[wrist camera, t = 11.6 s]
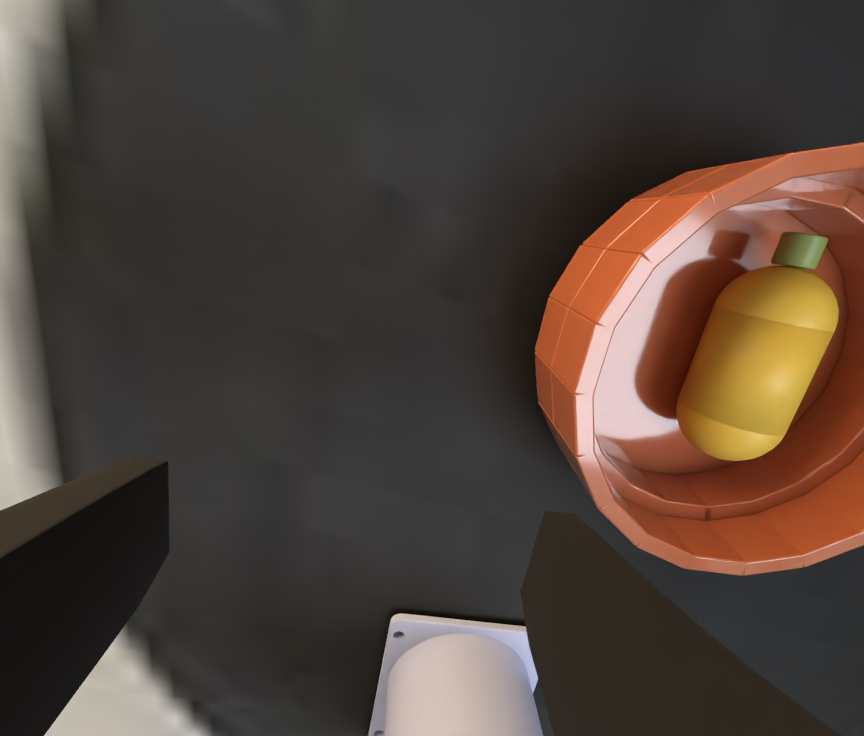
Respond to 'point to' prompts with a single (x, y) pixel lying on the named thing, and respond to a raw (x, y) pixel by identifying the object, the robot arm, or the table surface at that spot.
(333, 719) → the table surface
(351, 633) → the table surface
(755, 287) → the yellow squeeze bottle
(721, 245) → the basin
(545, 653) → the robot arm
